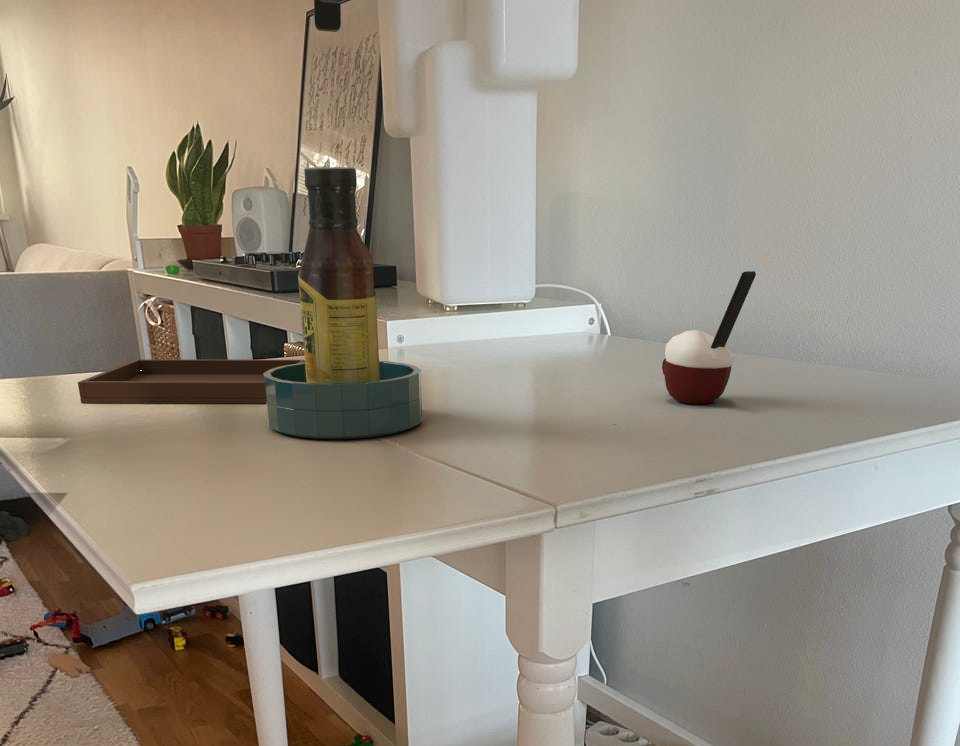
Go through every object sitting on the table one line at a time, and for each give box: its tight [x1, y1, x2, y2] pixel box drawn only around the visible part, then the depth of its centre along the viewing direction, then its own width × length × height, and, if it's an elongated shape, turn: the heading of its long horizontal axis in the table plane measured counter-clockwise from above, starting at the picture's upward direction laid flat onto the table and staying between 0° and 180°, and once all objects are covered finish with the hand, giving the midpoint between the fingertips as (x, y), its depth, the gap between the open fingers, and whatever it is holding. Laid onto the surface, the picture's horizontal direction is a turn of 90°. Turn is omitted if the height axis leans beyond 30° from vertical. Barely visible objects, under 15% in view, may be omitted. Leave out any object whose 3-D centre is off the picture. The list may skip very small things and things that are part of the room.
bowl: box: [263, 360, 423, 440], centre depth 84 cm, size 13×13×4 cm
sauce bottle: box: [297, 166, 380, 383], centre depth 80 cm, size 6×6×20 cm
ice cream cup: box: [661, 270, 757, 405], centre depth 91 cm, size 10×6×12 cm, turn 10°
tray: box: [77, 358, 305, 405], centre depth 100 cm, size 19×15×2 cm
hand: (329, 16), depth 79 cm, fingers open, 8 cm apart
